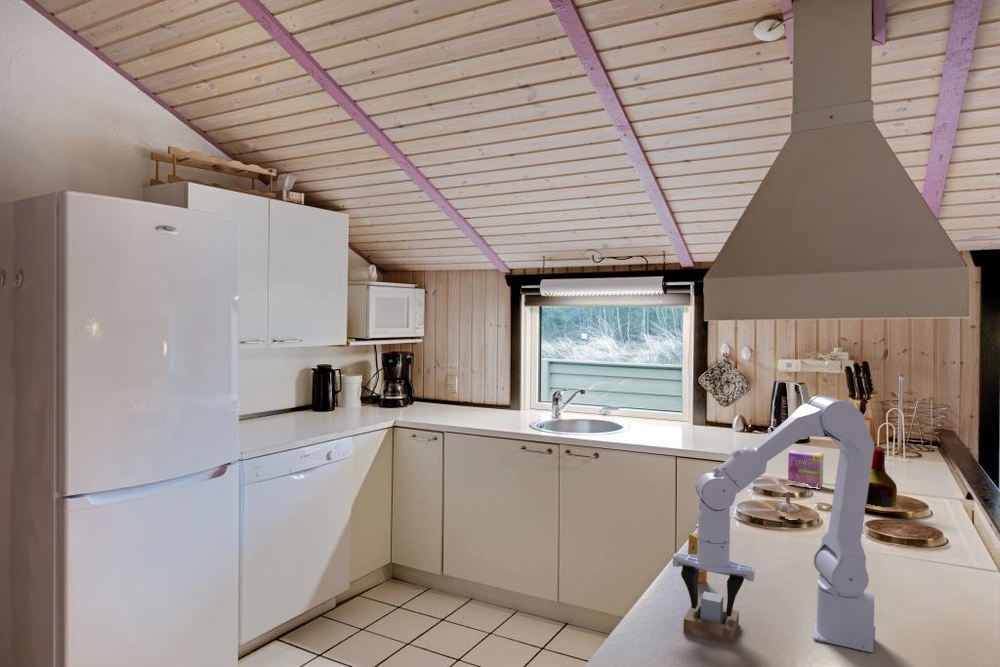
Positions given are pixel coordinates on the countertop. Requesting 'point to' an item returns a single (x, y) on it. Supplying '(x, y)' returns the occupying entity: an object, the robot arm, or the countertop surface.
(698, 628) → the walnut holder
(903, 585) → the countertop surface
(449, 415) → the countertop surface
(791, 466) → the box
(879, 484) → the bottle
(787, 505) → the garlic bulb
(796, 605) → the countertop surface
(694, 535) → the supplement box
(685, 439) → the countertop surface
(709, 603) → the peg
